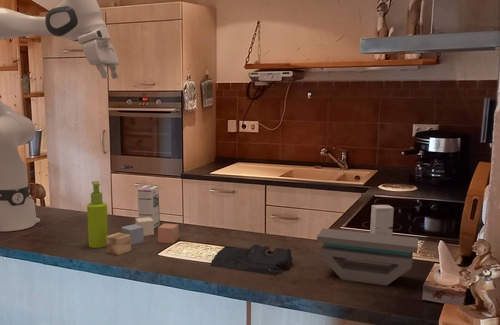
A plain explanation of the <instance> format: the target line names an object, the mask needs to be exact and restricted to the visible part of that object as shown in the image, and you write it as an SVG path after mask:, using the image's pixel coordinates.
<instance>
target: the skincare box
mask: <svg viewBox="0 0 500 325" xmlns="http://www.w3.org/2000/svg"><path fill="white" fill-rule="evenodd" d="M394 211H395V207H393V206H391V205H390V204H372V205H371V211H370V212H371V213H370V228H369V233H372V234H382V235H392V236H393V227H394V214H395V212H394Z"/></svg>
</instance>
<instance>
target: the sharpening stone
mask: <svg viewBox="0 0 500 325" xmlns="http://www.w3.org/2000/svg"><path fill="white" fill-rule="evenodd" d="M316 242H317V243H322V244H323V243H324V244H323V246H321V248H320V258H321V259H322V260H323V261H324V262H325V263H326V264H327V266H329V268H331V270H332V271H333V272H334V273H335V274H336V275H337V276H338V277H339V278H340V279H341V280H344V281H352V282H357V283H358V282H360V283H366V284H374V285H381V286H388V285H391V283H392V282H394V281H395V280H397V279H398V278H400V277H401V276H403V275H404V274H405V273H407V272H408V271H410V270H411V269H412V265H413V259H414V254H418V248H419V238H418V237H411V236H410V237H408V236H401V235H400V236H399V235H393V234H392V235H382V234H372V233H370V232H362V231H361V232H360V231H351V230H343V229H342V230H341V229H334V228H333V229H332V228H322V229H321V231H320V232H318V234H317V236H316Z"/></svg>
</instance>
